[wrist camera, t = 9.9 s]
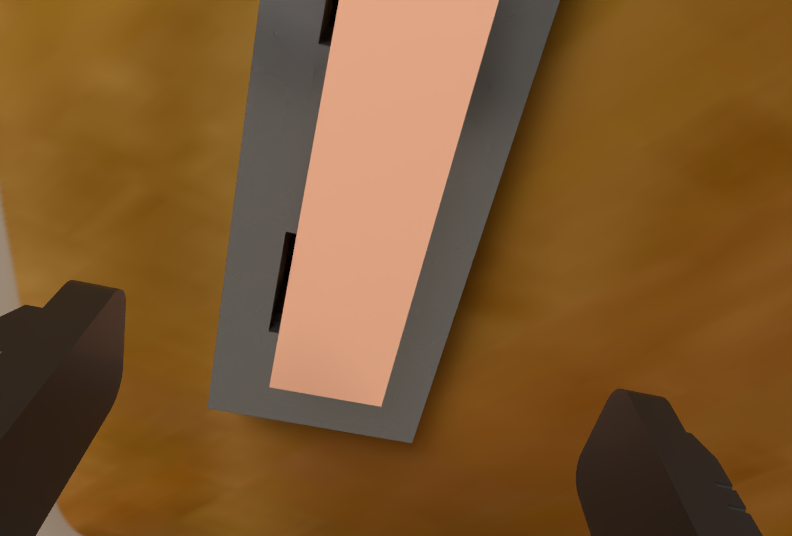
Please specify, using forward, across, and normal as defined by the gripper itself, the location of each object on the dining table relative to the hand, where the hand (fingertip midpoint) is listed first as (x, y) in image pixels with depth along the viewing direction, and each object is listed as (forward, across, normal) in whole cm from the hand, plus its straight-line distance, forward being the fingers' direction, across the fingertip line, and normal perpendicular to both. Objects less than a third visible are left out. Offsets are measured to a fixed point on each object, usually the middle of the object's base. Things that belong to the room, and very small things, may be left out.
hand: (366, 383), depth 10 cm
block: (+14, 0, 0) cm, 14 cm away
